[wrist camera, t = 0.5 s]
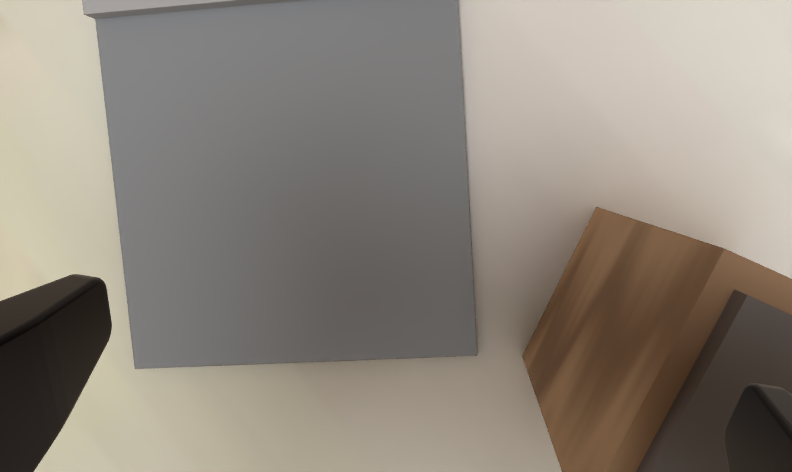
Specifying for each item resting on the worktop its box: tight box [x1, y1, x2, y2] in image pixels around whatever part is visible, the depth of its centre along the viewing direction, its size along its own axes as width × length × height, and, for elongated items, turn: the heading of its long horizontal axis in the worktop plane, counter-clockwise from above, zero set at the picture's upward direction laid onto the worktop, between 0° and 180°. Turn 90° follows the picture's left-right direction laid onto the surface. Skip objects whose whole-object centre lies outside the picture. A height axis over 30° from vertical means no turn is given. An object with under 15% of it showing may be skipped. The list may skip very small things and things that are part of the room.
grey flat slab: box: [82, 0, 477, 369], centre depth 25 cm, size 16×14×1 cm
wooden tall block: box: [522, 207, 792, 472], centre depth 19 cm, size 6×6×13 cm
